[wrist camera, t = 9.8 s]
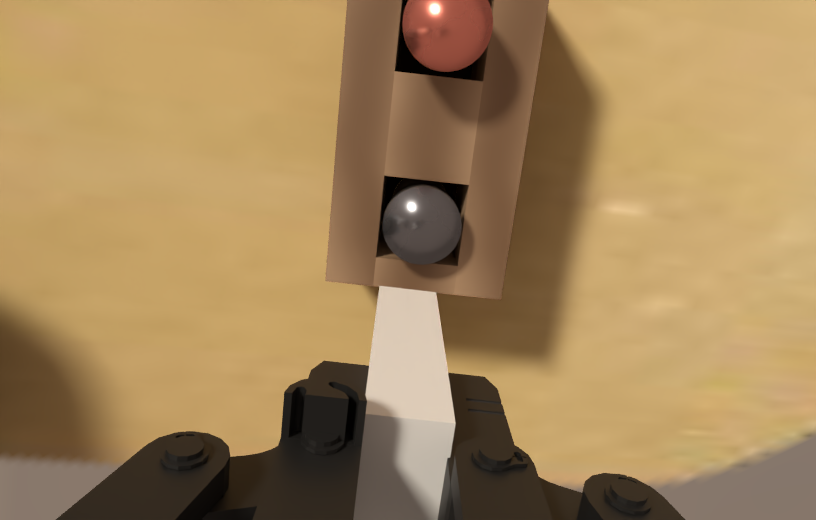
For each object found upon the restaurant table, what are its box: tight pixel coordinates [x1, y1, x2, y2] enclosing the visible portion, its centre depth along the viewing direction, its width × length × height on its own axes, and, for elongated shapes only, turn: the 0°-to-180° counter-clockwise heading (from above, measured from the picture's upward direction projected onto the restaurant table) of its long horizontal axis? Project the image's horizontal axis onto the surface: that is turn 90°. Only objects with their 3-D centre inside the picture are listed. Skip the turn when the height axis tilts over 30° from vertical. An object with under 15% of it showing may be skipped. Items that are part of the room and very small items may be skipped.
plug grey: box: [383, 178, 462, 265], centre depth 36 cm, size 4×4×8 cm
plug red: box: [402, 0, 493, 72], centre depth 32 cm, size 4×4×8 cm
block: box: [325, 0, 549, 300], centre depth 36 cm, size 10×18×7 cm, turn 174°
